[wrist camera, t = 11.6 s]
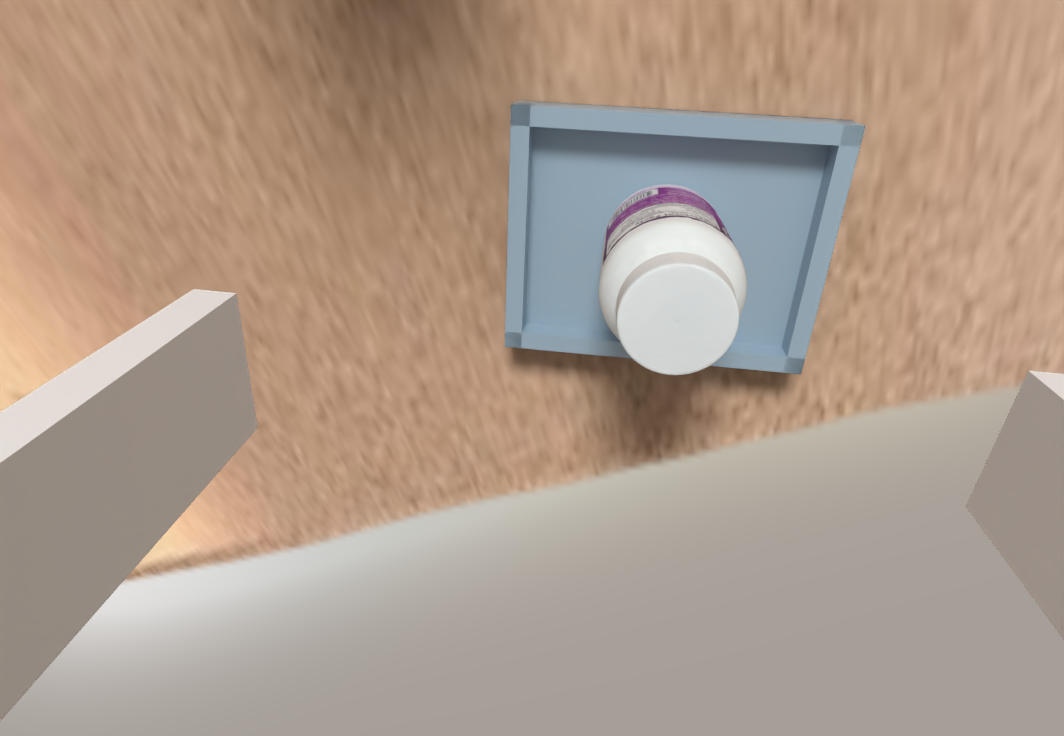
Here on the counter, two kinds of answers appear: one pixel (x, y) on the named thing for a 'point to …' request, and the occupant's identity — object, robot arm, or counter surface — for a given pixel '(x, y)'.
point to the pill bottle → (671, 280)
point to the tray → (685, 160)
